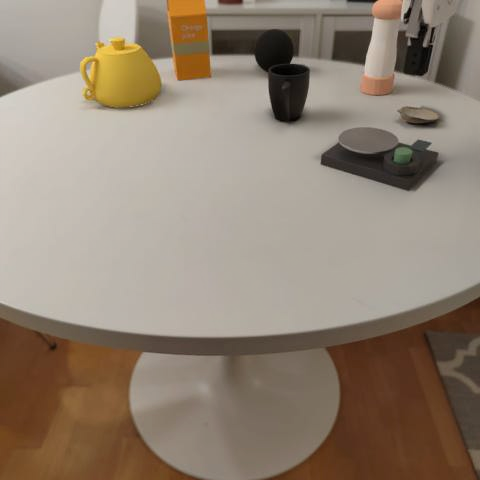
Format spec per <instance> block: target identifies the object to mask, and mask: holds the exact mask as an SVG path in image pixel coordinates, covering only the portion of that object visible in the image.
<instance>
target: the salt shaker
mask: <svg viewBox="0 0 480 480" xmlns="http://www.w3.org/2000/svg"><path fill="white" fill-rule="evenodd" d="M402 3H403V0H376V1H375V2H374V3H373V5H372V8H371V14H372V17H374V19H373V25H372V32H371V38H370V42H369V45H368V49H367V52H366V56H365V64H364V71H363V72H362V73H361V81H360V89H359V90H360V92H361V93H364V94H367V95H370V96H384V95H388V94H391V93H392V92H393V87H394V82H395V77H396V75H395V67H396V63H397V52H398V51H397V49H398V36H399V30H400V26H401V25H400V24H401V10H402Z"/></svg>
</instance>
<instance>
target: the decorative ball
mask: <svg viewBox="0 0 480 480" xmlns="http://www.w3.org/2000/svg"><path fill="white" fill-rule="evenodd" d="M294 52H295V46H294V43H293V39H292V38H291V37H290V35H289V34H287V32H286V31H283V30H282V29H277V28H273V29H268V30H266V31H264V32H262V33H261V35H260V36H259V37H258V38H257V40H256V42H255V45H254V52H253V53H254V59H255V62H256V64H257V65H258V66H259V68H261V70H263V71H264V72H265V73H268V71H269V68H271V67H272V66H275V65H279V64H292V61H293V58H294Z"/></svg>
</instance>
